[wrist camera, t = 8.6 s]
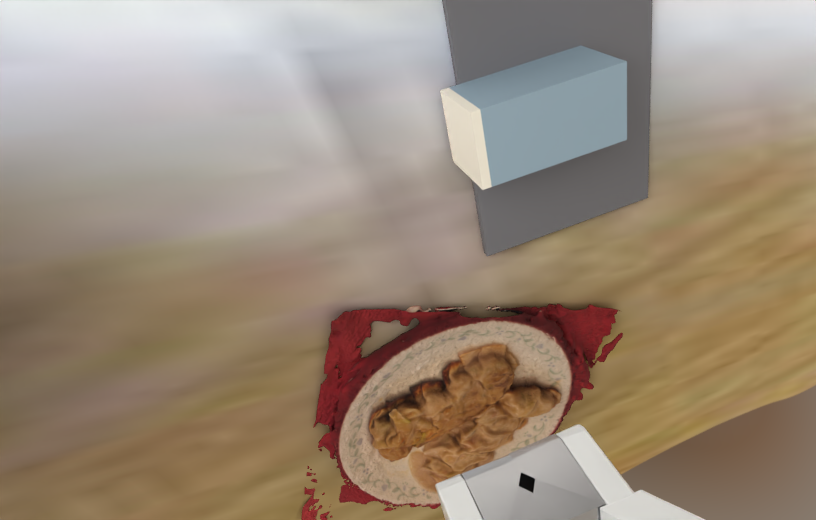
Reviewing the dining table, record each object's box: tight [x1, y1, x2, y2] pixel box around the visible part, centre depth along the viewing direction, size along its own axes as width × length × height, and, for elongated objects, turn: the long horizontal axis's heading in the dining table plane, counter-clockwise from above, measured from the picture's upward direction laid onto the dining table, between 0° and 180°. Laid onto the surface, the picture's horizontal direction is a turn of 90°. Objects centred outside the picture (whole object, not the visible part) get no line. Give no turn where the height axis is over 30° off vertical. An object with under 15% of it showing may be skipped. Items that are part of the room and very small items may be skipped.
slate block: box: [440, 46, 627, 190], centre depth 37 cm, size 5×5×10 cm
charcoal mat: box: [442, 0, 652, 256], centre depth 40 cm, size 14×22×1 cm, turn 13°
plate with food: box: [302, 304, 623, 520], centre depth 53 cm, size 24×26×4 cm
